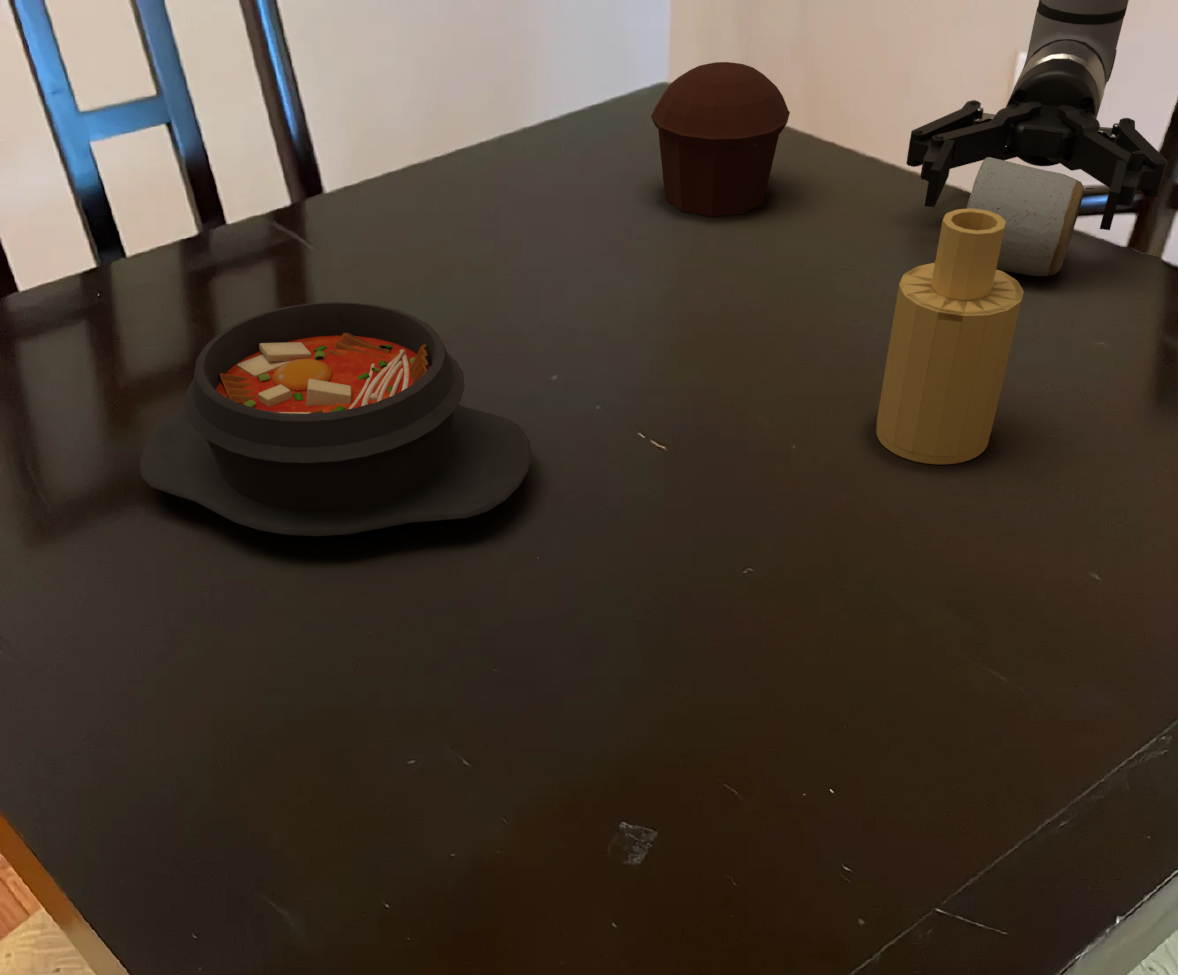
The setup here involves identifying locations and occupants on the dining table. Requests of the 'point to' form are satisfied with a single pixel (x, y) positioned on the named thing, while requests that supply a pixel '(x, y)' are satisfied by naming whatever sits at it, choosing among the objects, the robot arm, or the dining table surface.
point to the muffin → (719, 138)
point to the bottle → (950, 345)
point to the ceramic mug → (1029, 213)
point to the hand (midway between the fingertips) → (1019, 200)
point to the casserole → (333, 426)
